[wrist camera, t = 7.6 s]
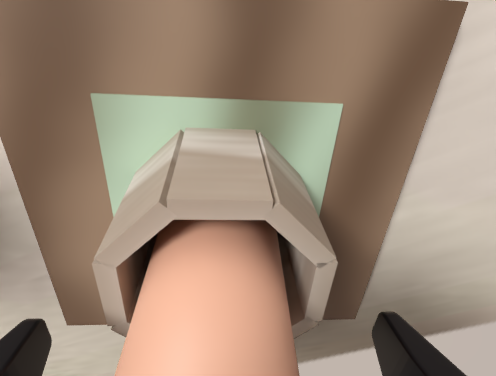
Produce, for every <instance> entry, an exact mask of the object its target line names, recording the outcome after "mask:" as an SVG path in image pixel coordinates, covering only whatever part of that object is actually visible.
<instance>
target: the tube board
mask: <svg viewBox="0 0 496 376" xmlns="http://www.w3.org/2000/svg"><path fill="white" fill-rule="evenodd" d="M467 5H468V2H462V1H448V0H0V137H1V140H2V143H3V146H4V148H5V151H6V154H7V157H8V160H9V163H10V165H11V168H12V171H13V174H14V177H15V180H16V182H17V185H18V188H19V191H20V194H21V196H22V199H23V202H24V205H25V208H26V211H27V213H28V216H29V219H30V222H31V225H32V227H33V230H34V233H35V236H36V239H37V242H38V244H39V247H40V250H41V253H42V256H43V258H44V261H45V264H46V267H47V270H48V273H49V275H50V278H51V281H52V284H53V287H54V290H55V292H56V295H57V298H58V301H59V304H60V306H61V309H62V312H63V315H64V318H65V321H66V323H67V325H107V326H112V328H111V330H113V331H115V332H117V333H119V334H121V335H122V336H124V337H126V336H127V333H128V330H129V327H130V323H131V320H132V317H133V314H134V310H135V307H136V304H137V301H138V297H139V294H140V291H141V288H142V284H143V281H144V278H145V275H146V271H147V268H148V265H149V261H150V258H151V255H152V252H153V248H154V245H155V242H156V239H157V235H158V232H159V231H160V230H162V229H163V228H164V227H165V226H167V225H168V224H169V223H170V222H171V221H173V220H266V221H267V222H268V223H269V224H270V225H271V226H272V227H274V228H275V229H276V230H277V237H278V243H279V249H280V256H281V262H282V269H283V275H284V281H285V288H286V294H287V300H288V307H289V313H290V320H291V326H292V332H293V339H295V338H296V337H298V336H300V335H302V334H303V333H305V332H307V331H309V330H310V329H312V328H314V327H315V326H317V325H318V322H317V321H322V320H332V319H355V318H356V315H357V312H358V309H359V307H360V304H361V301H362V298H363V295H364V293H365V290H366V287H367V284H368V281H369V279H370V276H371V273H372V270H373V267H374V265H375V262H376V259H377V256H378V254H379V251H380V248H381V245H382V242H383V240H384V237H385V234H386V231H387V228H388V226H389V223H390V220H391V217H392V214H393V212H394V209H395V206H396V203H397V200H398V198H399V195H400V192H401V189H402V187H403V184H404V181H405V178H406V175H407V173H408V170H409V167H410V164H411V161H412V159H413V156H414V153H415V150H416V147H417V145H418V142H419V139H420V136H421V133H422V131H423V128H424V125H425V122H426V120H427V117H428V114H429V111H430V108H431V106H432V103H433V100H434V97H435V94H436V92H437V89H438V86H439V83H440V80H441V78H442V75H443V72H444V69H445V66H446V64H447V61H448V58H449V55H450V53H451V50H452V47H453V44H454V41H455V39H456V36H457V33H458V30H459V27H460V25H461V22H462V19H463V16H464V13H465V11H466V8H467Z"/></svg>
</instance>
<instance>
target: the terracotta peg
mask: <svg viewBox="0 0 496 376" xmlns="http://www.w3.org/2000/svg"><path fill="white" fill-rule="evenodd" d="M115 376H299V371H298V364H297V358H296V351H295V345H294V339H293V332H292V326H291V320H290V313H289V307H288V300H287V294H286V288H285V281H284V275H283V269H282V262H281V256H280V249H279V243H278V237H277V230H276V229H275V228H274V227H272V226H271V225H270V224H269V223H268V222H267V221H266V220H173V221H171V222H170V223H169V224H168V225H167V226H165V227H164V228H163V229H162V230H160V231H159V232H158V235H157V239H156V242H155V245H154V248H153V252H152V255H151V258H150V261H149V265H148V268H147V271H146V275H145V278H144V281H143V284H142V288H141V291H140V294H139V297H138V301H137V304H136V307H135V310H134V314H133V317H132V320H131V323H130V327H129V330H128V333H127V336H126V340H125V343H124V346H123V350H122V353H121V356H120V359H119V363H118V366H117V369H116V372H115Z"/></svg>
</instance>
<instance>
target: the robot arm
mask: <svg viewBox="0 0 496 376" xmlns="http://www.w3.org/2000/svg"><path fill="white" fill-rule="evenodd" d="M372 338H373V342H374V346H375V349H376V353H377V357H378V360H379V364H380V368H381V371H382V375H383V376H466V375H465V374H464V373H463V372H462V371H461V370H459V369H458V368H457V367H456V366H455V365H454V364H453V363H452V362H450V361H449V360H448V359H447V358H446V357H445V356H444V355H443V354H442V353H440V352H439V351H438V350H437V349H436V348H435V347H434V346H433V345H432V344H431V343H429V342H428V341H427V340H426V339H425V338H424V337H423V336H422V335H420V334H419V333H418V332H417V331H416V330H415V329H414V328H413V327H412V326H410V325H409V324H408V323H407V322H406V321H405V320H404V319H403V318H402V317H400V316H399V315H398V314H397V313H395V312H381V313H379V315H378V317H377V320H376V322H375V325H374V327H373V330H372ZM51 343H52V340H51V336H50V333H49V331H48V328H47V326H46V323H45V321H44V320H43V319H26V320H24V321H22V322H21V323H19V324H18V325H17V326H16V327H15V328H13V329H12V330H11V331H10V332H9V333H8V334H6V335H5V336H4V337H3V338H2V339H0V376H42V374H43V370H44V367H45V364H46V361H47V358H48V355H49V351H50V348H51Z"/></svg>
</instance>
